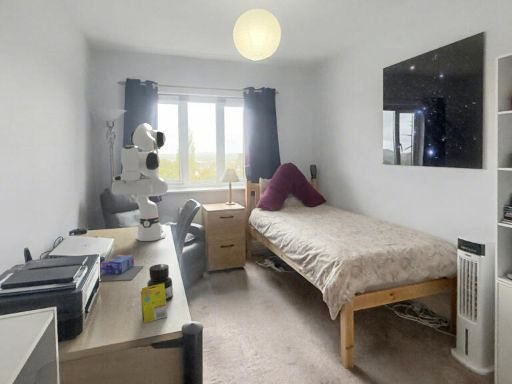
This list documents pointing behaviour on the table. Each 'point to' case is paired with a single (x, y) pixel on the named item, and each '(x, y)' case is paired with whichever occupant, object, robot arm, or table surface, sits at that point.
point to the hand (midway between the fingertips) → (133, 203)
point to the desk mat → (122, 275)
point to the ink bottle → (161, 279)
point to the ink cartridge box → (117, 264)
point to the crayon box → (153, 303)
